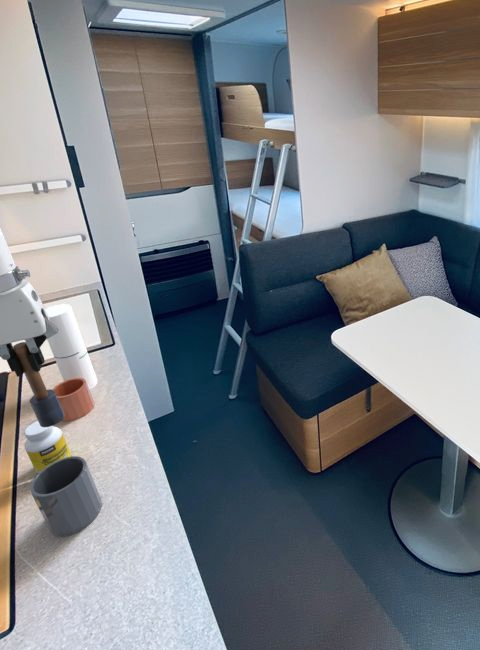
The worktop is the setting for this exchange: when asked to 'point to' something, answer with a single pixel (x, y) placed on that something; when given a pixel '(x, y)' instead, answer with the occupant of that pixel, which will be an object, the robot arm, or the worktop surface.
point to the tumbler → (66, 496)
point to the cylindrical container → (70, 346)
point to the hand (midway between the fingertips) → (30, 369)
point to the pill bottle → (45, 445)
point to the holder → (74, 398)
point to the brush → (39, 391)
